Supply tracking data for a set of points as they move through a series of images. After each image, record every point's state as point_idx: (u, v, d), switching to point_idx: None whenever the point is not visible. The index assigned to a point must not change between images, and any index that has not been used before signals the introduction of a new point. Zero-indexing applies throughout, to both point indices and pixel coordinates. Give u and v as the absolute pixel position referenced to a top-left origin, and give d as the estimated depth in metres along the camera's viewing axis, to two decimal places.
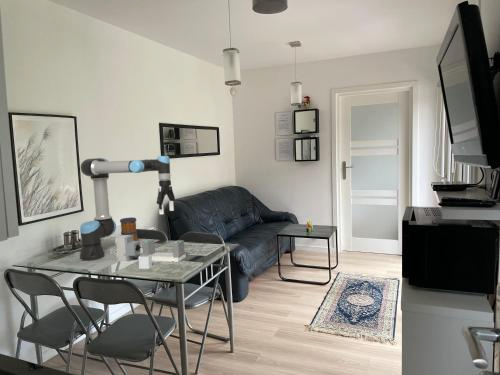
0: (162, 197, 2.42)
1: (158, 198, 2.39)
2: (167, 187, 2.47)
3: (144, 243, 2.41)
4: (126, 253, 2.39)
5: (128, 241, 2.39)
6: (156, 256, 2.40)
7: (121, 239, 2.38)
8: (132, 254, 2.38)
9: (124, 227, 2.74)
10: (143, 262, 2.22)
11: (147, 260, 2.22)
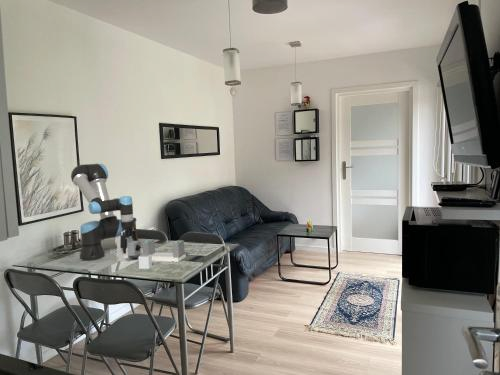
0: (125, 240, 2.37)
1: (121, 242, 2.35)
2: (130, 227, 2.42)
3: (144, 243, 2.41)
4: None
5: (128, 241, 2.39)
6: (156, 256, 2.40)
7: None
8: (132, 254, 2.38)
9: None
10: (143, 262, 2.22)
11: (147, 260, 2.22)
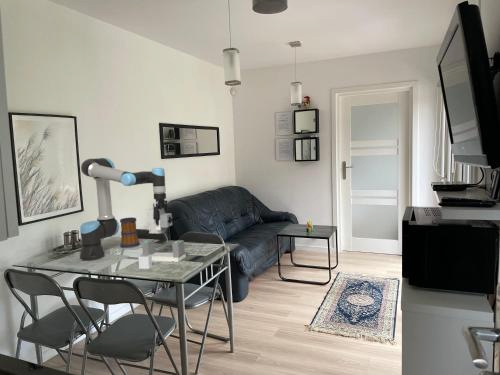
0: (158, 212, 2.35)
1: (154, 214, 2.33)
2: (162, 199, 2.39)
3: (144, 243, 2.41)
4: None
5: (161, 213, 2.37)
6: (156, 256, 2.40)
7: None
8: (165, 226, 2.36)
9: (124, 227, 2.74)
10: (143, 262, 2.22)
11: (147, 260, 2.22)
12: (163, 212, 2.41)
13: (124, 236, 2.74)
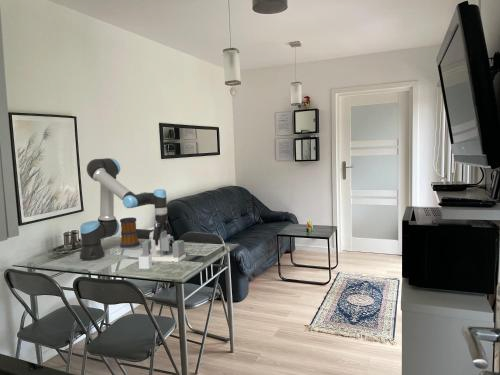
0: (158, 232, 2.35)
1: (154, 234, 2.32)
2: (164, 221, 2.41)
3: (144, 243, 2.41)
4: (160, 248, 2.38)
5: (162, 236, 2.39)
6: (156, 256, 2.40)
7: None
8: (166, 249, 2.37)
9: (124, 227, 2.74)
10: (143, 262, 2.22)
11: (147, 260, 2.22)
12: (165, 235, 2.42)
13: (124, 236, 2.74)
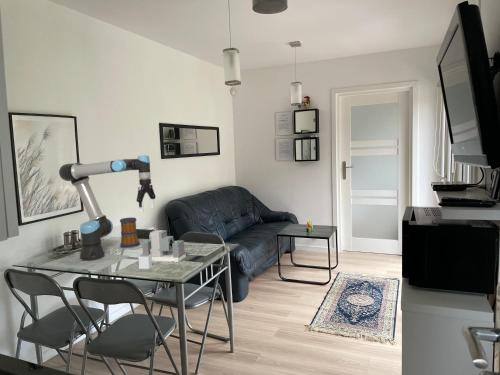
0: (142, 195, 2.51)
1: (138, 196, 2.48)
2: (147, 186, 2.56)
3: (144, 243, 2.41)
4: (160, 248, 2.38)
5: (162, 236, 2.39)
6: (156, 256, 2.40)
7: (155, 234, 2.38)
8: (166, 249, 2.37)
9: (124, 227, 2.74)
10: (143, 262, 2.22)
11: (147, 260, 2.22)
12: (165, 235, 2.42)
13: (124, 236, 2.74)
